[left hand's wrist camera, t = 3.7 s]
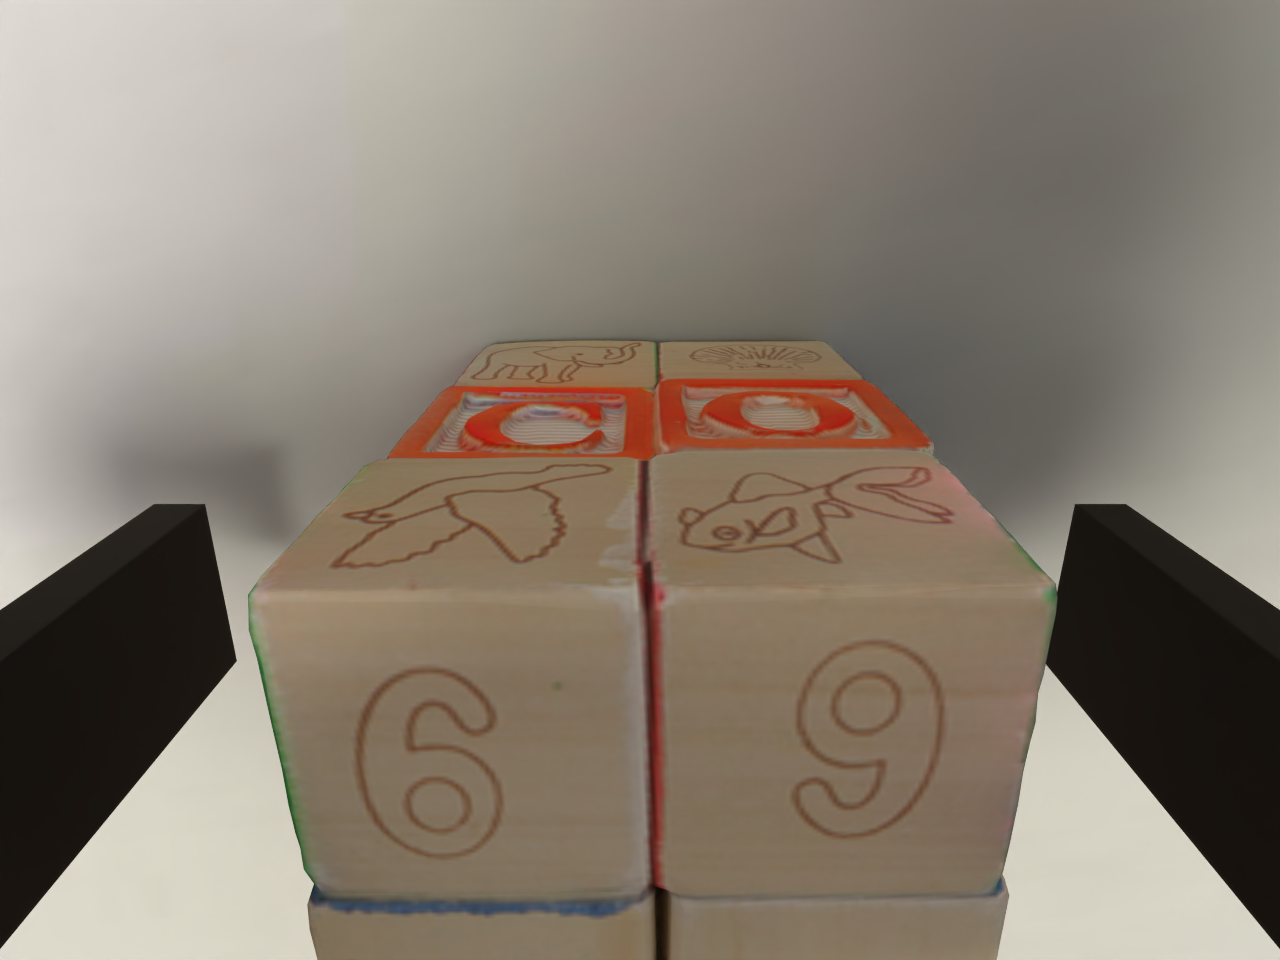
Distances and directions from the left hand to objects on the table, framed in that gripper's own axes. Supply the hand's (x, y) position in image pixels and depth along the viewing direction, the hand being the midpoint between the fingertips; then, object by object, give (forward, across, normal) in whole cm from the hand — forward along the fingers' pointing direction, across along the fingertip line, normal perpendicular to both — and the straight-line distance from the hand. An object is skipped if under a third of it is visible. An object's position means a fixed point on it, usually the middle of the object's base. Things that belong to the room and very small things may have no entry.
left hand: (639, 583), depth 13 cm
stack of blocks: (+3, 0, -7) cm, 8 cm away
